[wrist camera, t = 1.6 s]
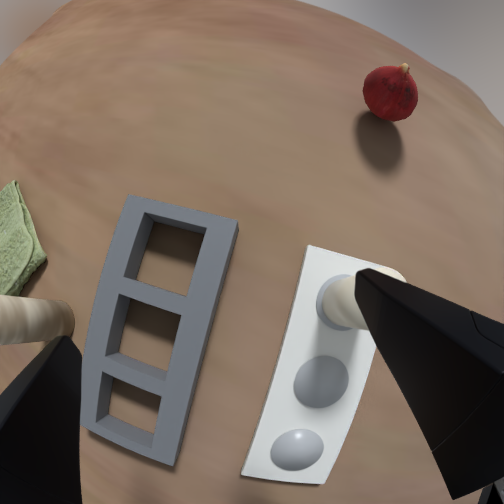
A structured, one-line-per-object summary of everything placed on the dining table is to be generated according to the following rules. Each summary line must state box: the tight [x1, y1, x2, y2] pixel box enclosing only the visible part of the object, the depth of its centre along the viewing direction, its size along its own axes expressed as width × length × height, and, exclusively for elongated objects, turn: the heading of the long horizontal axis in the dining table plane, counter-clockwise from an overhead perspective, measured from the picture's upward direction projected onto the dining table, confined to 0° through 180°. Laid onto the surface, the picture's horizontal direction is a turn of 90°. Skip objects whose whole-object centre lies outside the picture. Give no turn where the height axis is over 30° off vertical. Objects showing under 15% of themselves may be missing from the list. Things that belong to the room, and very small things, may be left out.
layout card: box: [241, 245, 407, 484], centre depth 16 cm, size 20×8×8 cm, turn 165°
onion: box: [363, 63, 418, 122], centre depth 21 cm, size 6×6×8 cm
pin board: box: [80, 194, 239, 466], centre depth 20 cm, size 20×9×2 cm, turn 165°
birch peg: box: [0, 295, 75, 345], centre depth 14 cm, size 4×4×13 cm
